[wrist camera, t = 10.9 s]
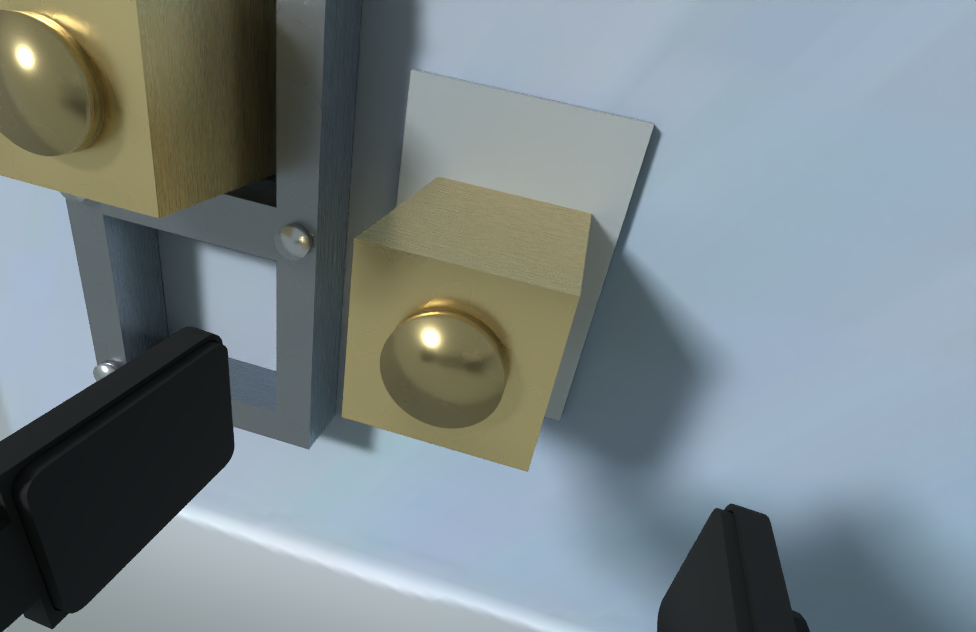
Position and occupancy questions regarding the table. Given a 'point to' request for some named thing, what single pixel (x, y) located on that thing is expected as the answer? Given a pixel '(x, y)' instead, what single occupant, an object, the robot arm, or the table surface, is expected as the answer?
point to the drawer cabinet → (254, 235)
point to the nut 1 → (138, 98)
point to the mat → (529, 169)
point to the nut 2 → (463, 318)
